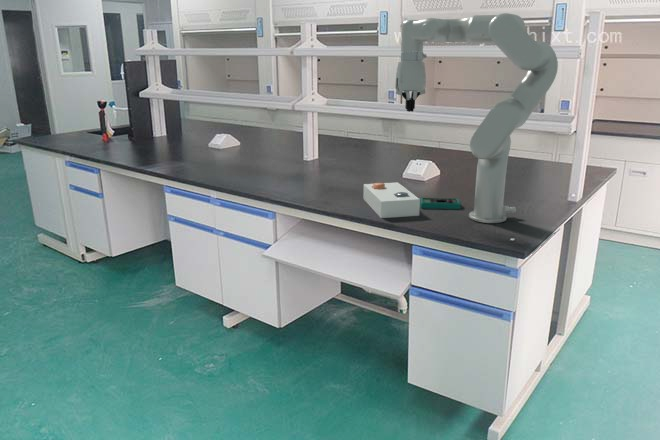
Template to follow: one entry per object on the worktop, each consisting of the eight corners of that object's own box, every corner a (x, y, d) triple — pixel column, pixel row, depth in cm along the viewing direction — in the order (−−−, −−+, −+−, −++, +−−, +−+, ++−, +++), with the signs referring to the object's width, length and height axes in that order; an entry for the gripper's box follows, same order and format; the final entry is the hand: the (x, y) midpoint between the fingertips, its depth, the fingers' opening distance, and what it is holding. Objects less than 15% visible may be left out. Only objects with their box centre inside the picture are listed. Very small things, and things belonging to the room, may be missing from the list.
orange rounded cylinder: (382, 196, 206) (383, 182, 204) (385, 199, 202) (386, 185, 200) (371, 196, 205) (372, 183, 203) (374, 199, 201) (374, 185, 199)
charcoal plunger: (405, 206, 195) (405, 191, 193) (409, 209, 190) (409, 194, 189) (393, 207, 194) (394, 192, 192) (397, 210, 190) (397, 195, 188)
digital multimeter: (461, 210, 194) (462, 202, 193) (420, 209, 196) (421, 202, 195) (459, 205, 201) (459, 197, 200) (419, 204, 203) (419, 196, 202)
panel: (397, 196, 211) (397, 182, 210) (419, 215, 187) (419, 199, 185) (363, 199, 209) (363, 184, 207) (380, 218, 185) (381, 201, 183)
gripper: (428, 57, 189) (426, 109, 194) (388, 58, 186) (386, 110, 192) (436, 57, 182) (433, 111, 187) (394, 58, 179) (392, 112, 185)
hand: (409, 111), depth 190 cm, fingers closed
